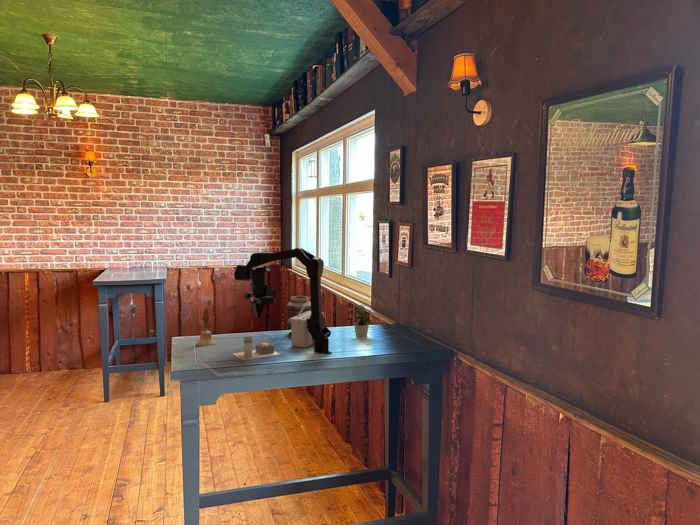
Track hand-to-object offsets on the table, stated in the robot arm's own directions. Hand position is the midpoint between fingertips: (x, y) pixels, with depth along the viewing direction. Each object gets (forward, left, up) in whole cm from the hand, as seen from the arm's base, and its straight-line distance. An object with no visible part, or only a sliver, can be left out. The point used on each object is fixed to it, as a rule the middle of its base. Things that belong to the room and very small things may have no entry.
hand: (258, 317), depth 223 cm
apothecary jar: (+14, -28, -13) cm, 34 cm away
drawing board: (-12, +6, -13) cm, 19 cm away
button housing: (-11, +2, -12) cm, 17 cm away
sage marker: (-14, +11, -12) cm, 21 cm away
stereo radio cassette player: (-5, -21, -13) cm, 26 cm away
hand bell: (+18, +17, -13) cm, 28 cm away
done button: (-11, +2, -11) cm, 16 cm away
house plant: (-6, -49, -13) cm, 51 cm away
